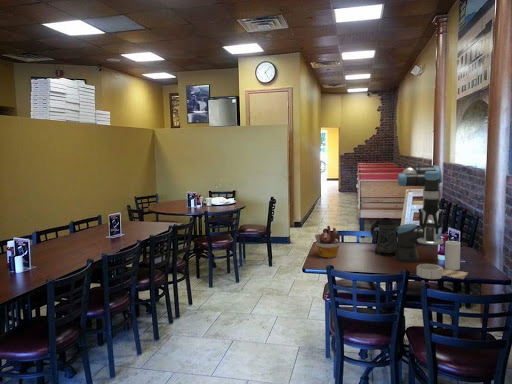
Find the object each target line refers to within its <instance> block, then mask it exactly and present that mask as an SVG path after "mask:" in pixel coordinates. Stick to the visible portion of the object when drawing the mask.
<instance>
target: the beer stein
mask: <svg viewBox="0 0 512 384" xmlns="http://www.w3.org/2000/svg"><path fill="white" fill-rule="evenodd" d="M376 228H378V233H377V234H378V236H377V235H376V233H375V229H376ZM396 228H397V224H396V223H395V222H394V221H393V220H391V218H389V217H382V218H381V219H377V220H376V221H375V223H372V225H370V229H369V231H370V235H371V236H372V238H373V239H374V241H375V242H376V245H375V248H374V249H375V250H374V251H375V254H376V255H378V256H381V257H395V253H396V250H397V243H398V236H397V232H396V231H397V230H396Z"/></svg>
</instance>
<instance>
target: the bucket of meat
mask: <svg viewBox="0 0 512 384" xmlns="http://www.w3.org/2000/svg"><path fill="white" fill-rule="evenodd" d="M332 228H333V229H332V232H331V226H330V225H327V227H326V228H323V232H322V233H317V234H315V235H314V238H315V240H316V241H315V244H316V248H317V252H318V255H319V257H321V256H322V257H321V258H323V257H334V258H336V257H337V256H338V252H339V248H340V243H341V241H340V240H341V235H340V234H338V230H336V229H337V228H336V227H332ZM335 256H336V257H335Z"/></svg>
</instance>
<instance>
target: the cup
mask: <svg viewBox="0 0 512 384" xmlns="http://www.w3.org/2000/svg"><path fill="white" fill-rule="evenodd" d="M444 245H445V246H444V247H445V249H444V269H448V270H455V271H460V269H461V268H460V267H461V242H460V241H454V240H446V241H444Z"/></svg>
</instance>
